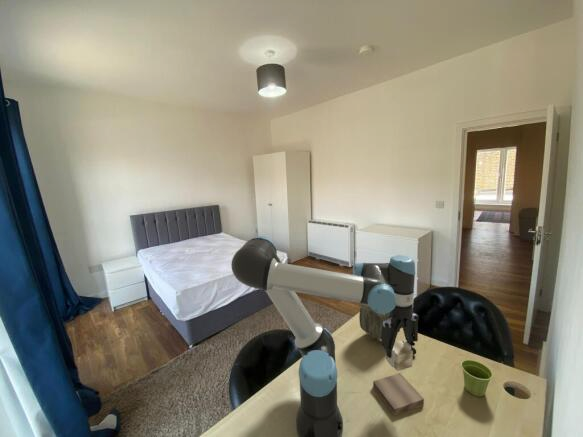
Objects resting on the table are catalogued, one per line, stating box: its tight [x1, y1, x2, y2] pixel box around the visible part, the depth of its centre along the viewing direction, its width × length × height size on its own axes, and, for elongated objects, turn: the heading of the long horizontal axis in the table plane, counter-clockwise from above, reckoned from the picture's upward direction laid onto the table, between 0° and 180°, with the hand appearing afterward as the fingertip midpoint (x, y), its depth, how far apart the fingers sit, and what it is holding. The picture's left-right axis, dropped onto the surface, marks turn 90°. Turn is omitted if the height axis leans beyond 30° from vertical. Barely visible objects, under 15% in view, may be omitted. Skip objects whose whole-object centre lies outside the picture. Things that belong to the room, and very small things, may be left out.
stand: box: [372, 372, 425, 417], centre depth 91 cm, size 12×12×2 cm
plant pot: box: [460, 359, 494, 397], centre depth 91 cm, size 9×9×9 cm
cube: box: [385, 340, 414, 372], centre depth 88 cm, size 6×6×6 cm
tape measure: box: [401, 340, 417, 356], centre depth 111 cm, size 7×7×4 cm
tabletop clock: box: [358, 303, 390, 342], centre depth 119 cm, size 14×9×25 cm, turn 34°
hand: (398, 361), depth 88 cm, fingers closed on cube, 6 cm apart
